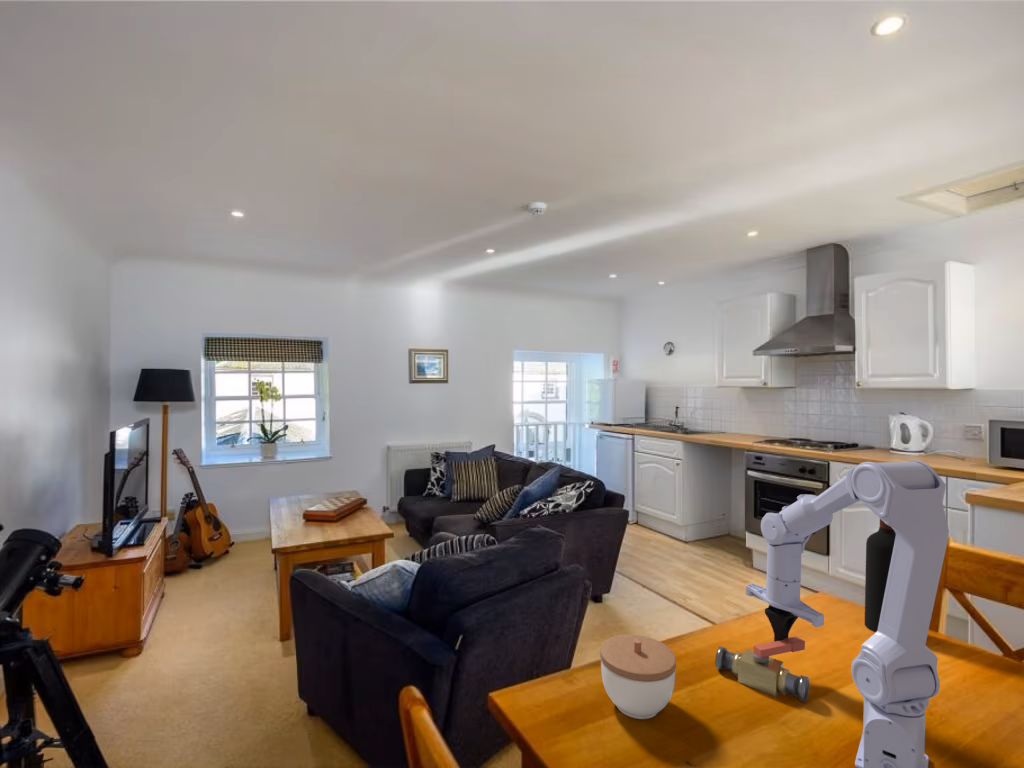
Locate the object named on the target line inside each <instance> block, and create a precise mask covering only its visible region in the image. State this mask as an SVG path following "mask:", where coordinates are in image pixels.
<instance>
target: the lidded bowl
mask: <svg viewBox="0 0 1024 768" xmlns="http://www.w3.org/2000/svg"><path fill="white" fill-rule="evenodd" d="M599 648H600V649H599V652H600V653H599V657H600V671H601V672H600V673H601V679H602V683H603V686H604V689H605V693H606V694H607V696H608V698H610V700H611V701H612V702H613V704H614V705H615V706H616V708H617V709H618V711H620V712H621V713H622V714H623V715H625V716H627V717H629V718H632V719H635V720H648V719H651V718H654V717H656V716H657V714H658V713H659V712H660V711H662V710H663V709H664V708H666V706H667V705H668V703H669V702H670V700H671V698H672V695H673V691H674V689H675V682H676V681H675V680H676V679H675V678H676V669H677V658H676V657H677V656H676V655H675V653H674V652H673V650H672V649H671V648H670V647H669V646H668V645H666V643H665V644H664V643H663V642H661V641H660V640H658V639H656V638H652V637H651V636H645V635H640V634H633V633H632V634H631V633H630V634H629V633H628V634H627V633H626V634H625V633H624V634H618V635H614V636H611V637H609V638H607V639H605V640H604V641H603V642H602V643H601V645H600V647H599Z"/></svg>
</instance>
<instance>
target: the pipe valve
mask: <svg viewBox="0 0 1024 768" xmlns="http://www.w3.org/2000/svg"><path fill="white" fill-rule="evenodd" d="M753 652H754V650H749V649H747V648H746V649H745V650H744V652H739V651H736V652H733V651H729V650H728V649H727V647H724V646H720V645H719V647H718V648H717V650H716V653H715V659H714V661H715V662H714V664H715V668H716V669H719V670H721V671H724V670H726V671H729V672H732V675H733V676H735V677H737V682H738V683H740V684H742V685H745V686H747V687H750V688H752V689H755V690H757V691H760V692H763V693H765V694H767V695H769V696H773V697H777V696H778V695H779V694H782V695H783V696H787V694H790V695H793V696H795V697H797V698H798V700H799V701H801V702H803V703H806V702H807V701H808V698H809V693H810V677H809V676H807V675H803V674H801V675H800V676H799V675H796V674H793V673H791V672H790V670H789V669H788V668H785V667H784V661H782V660H779V659H776V658H773V657H772V656H769V662H768V663H760V662H757V661H756V660H754V659H753Z"/></svg>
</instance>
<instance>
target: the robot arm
mask: <svg viewBox="0 0 1024 768" xmlns="http://www.w3.org/2000/svg"><path fill="white" fill-rule="evenodd" d="M946 488H947V484H946V482H944V481H943V479H942V477H941V476H940V475H939V474H938V473H937V472H936V470H935V469H934V468H933V467H932V466H930V465H929V464H927V463H926V462H924V461H922V460H921V461H920V460H915V459H914V460H912V459H911V460H907V461H887V462H884V461H883V462H874V461H865V462H864V461H863V462H861V463H859V464H858V465H856V466H855V467H853V468H852V467H851V468H850V469H848V470H847V471H846V475H845V476H844V477H842V478H841V479H839V480H838V481H836V482H835V483H834V484H833V485H831V486H830V487H828V488H827V489H825V490H824V491H823V492H822V493H820V494H819V495H814V494H806V493H805V494H803V493H802V494H799V495H798V496H797V497H796V499H797V500H796V501H795V502H793V503H791V504H790V505H784V506H783V507H782V508H781V510H780V511H779V512H778V513H774V512H766V513H765V514H764V516H763V517H762V518H761V522H760V531H761V534H762V537H763V539H764V540H765V541H766V542H767V545H766V546H767V547H766V578H765V579H766V580H765V581H766V582H765V583H766V584H765V585H766V587H763V586H760V585H758V584H755V583H750V584H746V586H745V594H746V595H747V596H748V597H754V598H757V599H759V600H761V601H763V602H765V603H766V604H768V607H766V608H765V609H764V614H765V616H766V617H767V620H768V621H769V623H770V626H771V628H772V631H773V635H774V636H773V639H774V640H773V642H775V641H780V640H784V639H785V638H789V634H790V631H791V629H792V627H793V626H794V624H795V622H796V621H797V619H798V618H800V619H802V620H805V622H808V623H810V624H811V626H813V627H815V628H819V627H822V626H824V624H825V614H823V613H821V612H819V611H817V610H816V609H814V608H813V607H811V606H810V605H808V604H807V603H805V602H804V601H803V600H801V579H802V576H801V575H802V554H804V552H805V546H806V544H807V543H808V541H809V539H810V537H811V535H812V534H813V533H815V532H817V531H819V530H821V529H823V528H825V527H827V526H829V525H830V524H831V523H832V521H833V518H834V517H833V516H834V515H833V514H835V513H837V512H839V511H841V510H843V509H846V508H847V507H849V506H852V505H854V504H856V503H858V502H860V501H861V503H863V504H864V506H866V507H867V508H868V509H869V510H870V511H871V512H873V513H874V515H876V516H877V517H878V518H879V520H880V519H881V520H882V521H883V522H884V523H885V524H887V525H889V526H891V527H892V528H893V530H894V531H895V533H896V537H895V542H894V548H893V553H892V558H891V563H890V568H889V573H888V579H887V584H886V589H885V594H884V599H883V604H882V609H881V615H880V620H879V625H878V630H877V632H874V634H872V635H871V636H870V637H869V638H868V639H866V640H865V641H864V642H863V643H862V644H861V647H860V651H859V653H858V655H857V656H855V657H854V658H853V660H852V662H851V666H850V672H851V677H852V680H853V683H854V684H855V686H856V688H857V690H858V692H859V694H860V696H862V697H863V719H862V721H863V724H862V735H861V737H860V741H859V745H858V750H857V753H856V756H855V761H854V766H855V767H856V768H929V758H930V757H929V756H928V755H927V754H926V753H925V744H926V742H925V741H926V739H925V738H926V733H925V732H926V709H927V707H929V703H930V699H931V698H934V697H936V696H937V695H938V694H939V691H940V688H941V687H940V686H941V685H940V684H941V683H940V678H939V674H938V667H937V666H938V661H939V658H938V657H937V655H936V654H935V653H934V652H933V651H932V650H931V649H930V648H929V647H928V646H927V645H926V643H927V639H928V634H929V629H930V624H931V620H932V615H933V610H934V606H935V602H936V601H935V600H936V595H937V592H938V587H939V583H940V580H941V579H940V578H941V573H942V568H943V565H944V559H945V554H946V550H947V549H946V548H947V545H948V541H949V535H950V531H949V530H950V529H949V525H948V521H947V515H946V511H945V507H944V503H943V502H944V498H945V497H944V496H945V492H946Z"/></svg>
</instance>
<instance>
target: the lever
mask: <svg viewBox="0 0 1024 768" xmlns="http://www.w3.org/2000/svg"><path fill="white" fill-rule="evenodd" d="M805 650H806V641H805V640H804V639H802V638H800V637H799V636H796V635H795V636H791V637H788V638H785V639H784V640H780V641H775V642H774V641H772V642H766V643H761V644H756V645H753V659H754V660H756V661H757V662H760V663H768V662H769V657H773V656H775V655H777V656H778V655H781V654H786V653H790V652H792V653H795V652H800V651H805Z"/></svg>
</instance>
